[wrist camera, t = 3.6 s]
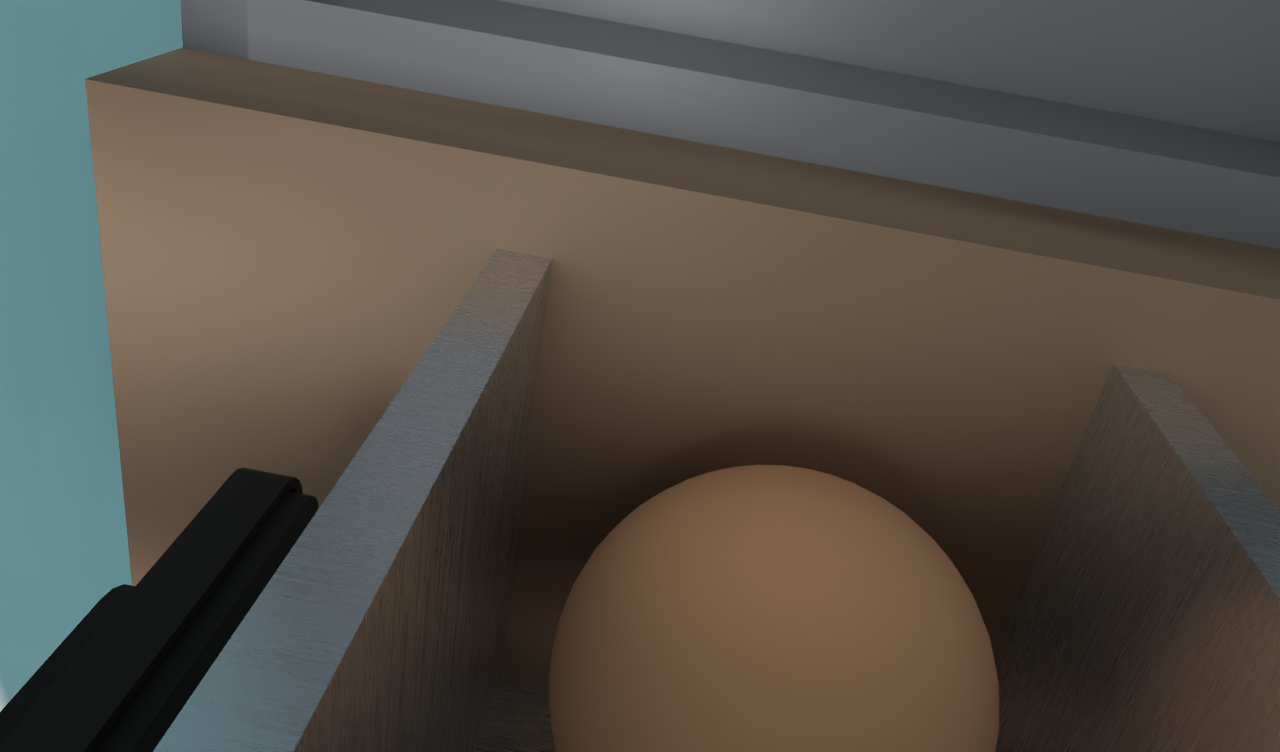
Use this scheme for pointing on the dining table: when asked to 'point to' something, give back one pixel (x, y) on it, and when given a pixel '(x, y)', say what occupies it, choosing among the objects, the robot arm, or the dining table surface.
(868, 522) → the ball
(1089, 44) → the tray
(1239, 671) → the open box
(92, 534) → the dining table surface
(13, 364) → the dining table surface
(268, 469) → the ledge
